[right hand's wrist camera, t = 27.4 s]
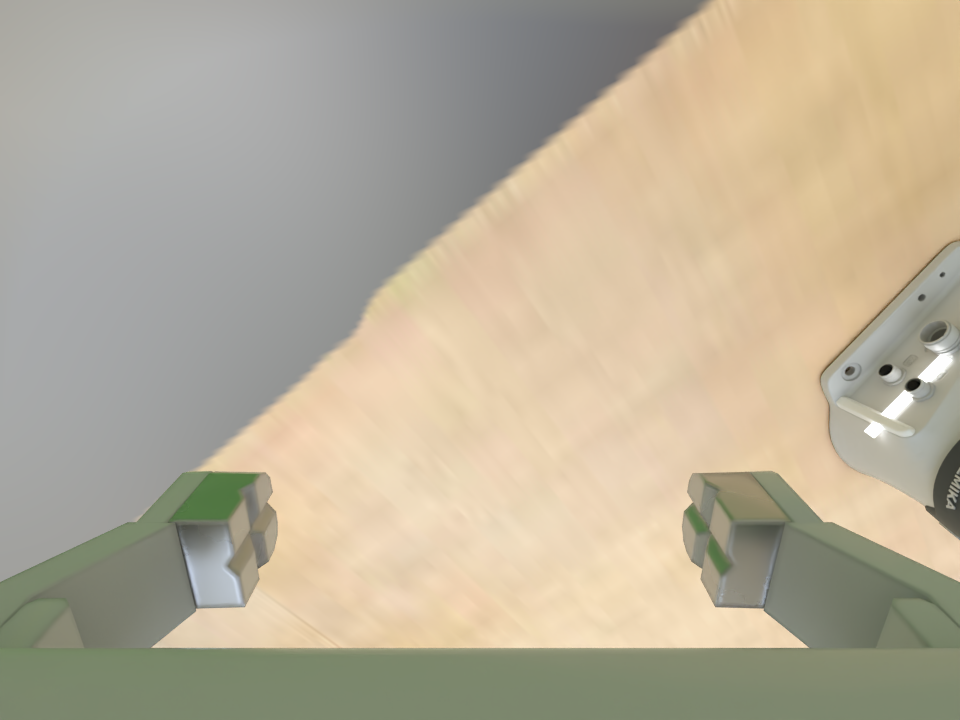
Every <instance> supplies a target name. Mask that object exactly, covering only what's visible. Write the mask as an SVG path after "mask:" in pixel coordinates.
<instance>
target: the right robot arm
mask: <svg viewBox="0 0 960 720" xmlns="http://www.w3.org/2000/svg"><path fill="white" fill-rule="evenodd" d="M848 367H850V369H849V370H848V371H847V372H845V370H846V369H847V368H848ZM821 387H822V390H823V392H824V394H825V396H826V399H827V400H828V402H829V406H830V419H829V430H830V437H831V441H832V444H833V446H834V448H835V450H836V452H837V454H838V455H839V457H840V458H841V459H842V460H843V461H844V462H845V463H846V464H847V465H848V466H850V467H851V468H853V469H854V470H856V471H858V472H860V473H862V474H865V475H868V476H871V477H873V478H876V479H878V480H880V481H882V482H884V483H887V484H888V485H890V486H892V487H894V488H896V489H898V490H899V491H901V492H903V493H904V494H906V495H908V496H909V497H911V498H913V499H914V500H916V501H918V502H919V503H921V504H922V505H924V506H925V508H926V510H927V511H928V512H929V513H930V514H931V515H932V516H933V517H935V518H936V519H937V520H938V521H939V524H941V525H942V526H943V527H944V528H945V529H947V530H948V531H949V532H950V533H951V534H953V535H954V536H955V537H956V538H958V539H959V540H960V241H957V242H953V243H951V244H949V245H948V246H947V247H946V248H945V249H943V250H942V251H941V252H940V253H939V254H938V255H937V256H936V257H935V258H934V259H933V261H932V262H931V263H930V264H929V265H928V266H927V267H926V268H925V269H924V270H923V271H922V272H921V273H920V274H919V275H918V276H917V277H916V278H915V279H914V280H913V281H912V282H911V283H910V284H909V285H908V286H907V287H906V288H905V289H904V290H903V291H902V292H901V293H900V294H899V295H898V296H897V297H896V298H895V299H894V300H893V301H892V302H891V303H890V304H889V305H888V306H887V307H886V309H885V310H884V311H883V312H882V313H881V314H880V315H879V316H878V317H877V318H876V319H875V320H874V321H873V322H872V323H871V324H870V325H869V326H868V327H867V328H866V329H865V330H864V331H863V332H862V333H861V334H860V335H859V336H858V337H857V338H856V339H855V340H854V341H853V342H852V343H851V344H850V345H849V346H848V347H847V348H846V349H845V350H844V351H843V352H842V353H841V354H840V355H839V357H838V358H837V359H836V360H835V361H834V362H833V363H832V364H831V365H830V366H829V367H828V368H827V369H826V370H825V371H824V372H823V374H822V376H821ZM272 493H273V490H272V485H271V480H270V477H269V476H268V475H267V474H266V473H263V472H212V471H191V472H186V473H182V474H181V475H180V477H179V478H178V479H177V480H176V481H175V482H174V483H173V484H172V485H171V486H170V487H169V488H168V489H167V490H166V491H165V492H164V494H163V495H162V496H161V497H160V498H159V499H158V500H157V501H156V502H155V503H154V504H153V505H152V506H151V507H150V508H149V509H148V511H147V512H146V513H145V514H144V515H143V516H142V517H141V518H140V519H139V520H138V521H137V522H128V523H125V524H123V525H121V526H119V527H117V528H115V529H113V530H111V531H108V532H106V533H104V534H102V535H100V536H98V537H96V538H93V539H91V540H89V541H87V542H85V543H83V544H81V545H79V546H76V547H74V548H72V549H70V550H68V551H66V552H64V553H61V554H59V555H57V556H55V557H53V558H51V559H49V560H46V561H44V562H42V563H40V564H38V565H36V566H34V567H32V568H29V569H27V570H25V571H23V572H21V573H19V574H17V575H15V576H12V577H10V578H8V579H6V580H4V581H2V582H0V720H960V582H958V581H956V580H954V579H952V578H949V577H947V576H945V575H943V574H941V573H939V572H937V571H935V570H932V569H930V568H928V567H926V566H924V565H922V564H920V563H918V562H915V561H913V560H911V559H909V558H907V557H905V556H903V555H901V554H898V553H896V552H894V551H892V550H890V549H888V548H886V547H883V546H881V545H879V544H877V543H875V542H873V541H871V540H869V539H866V538H864V537H862V536H860V535H858V534H856V533H854V532H852V531H849V530H847V529H845V528H843V527H841V526H839V525H837V524H835V523H832V522H823V521H822V520H821V519H820V518H819V517H818V516H817V515H816V514H815V513H814V512H813V510H812V509H811V508H810V507H809V506H808V505H807V504H806V503H805V502H804V501H803V500H802V499H801V498H800V497H799V496H798V495H797V493H796V492H795V491H794V490H793V489H792V488H791V487H790V486H789V485H788V484H787V483H786V482H785V481H784V480H783V479H782V477H781V476H780V475H779V474H777V473H775V472H773V471H757V472H731V473H693V474H692V476H691V478H690V480H689V484H688V490H687V493H688V494H689V496H690V498H691V499H692V501H693V503H692V504H691V505H690V506H689V507H688V508H687V509H686V510H685V511H684V516H683V524H682V531H683V541H684V545H685V548H686V551H687V554H688V556H689V558H690V560H691V562H693V563H694V564H696V565H697V566H699V567H700V568H702V574H701V581H702V583H703V585H704V587H705V588H706V590H707V592H708V594H709V596H710V598H711V600H712V602H713V604H714V606H715V607H729V608H764V611H765V612H766V613H767V614H768V615H770V616H771V617H772V618H773V619H775V620H776V621H777V622H778V623H780V624H781V625H782V626H783V627H785V628H786V629H787V630H788V631H789V632H791V633H792V634H793V635H794V636H796V637H797V638H798V639H799V640H801V641H802V642H803V643H804V644H806V645H807V646H808V647H809V648H151V647H152V646H153V645H155V644H156V643H157V642H158V641H160V640H161V639H162V638H163V637H165V636H166V635H167V634H168V633H169V632H171V631H172V630H173V629H174V628H176V627H177V626H178V625H179V624H181V623H182V622H183V621H184V620H186V619H187V618H188V617H189V616H191V615H192V614H193V613H194V612H195V611H196V608H230V607H245V606H246V604H247V602H248V600H249V598H250V596H251V594H252V592H253V590H254V589H255V587H256V585H257V583H258V581H259V574H258V568H260V567H261V566H263V565H264V564H266V563H267V562H269V560H270V558H271V555H272V553H273V551H274V548H275V544H276V539H277V533H278V522H277V515H276V511H275V510H274V509H273V508H272V507H271V506H270V505H269V504H268V503H267V501H268V499H269V498H270V496H271V494H272Z"/></svg>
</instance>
